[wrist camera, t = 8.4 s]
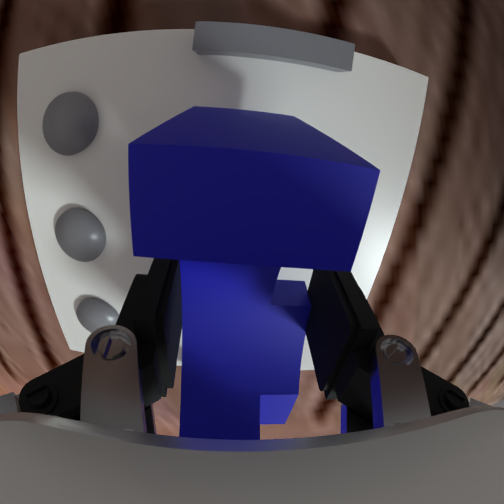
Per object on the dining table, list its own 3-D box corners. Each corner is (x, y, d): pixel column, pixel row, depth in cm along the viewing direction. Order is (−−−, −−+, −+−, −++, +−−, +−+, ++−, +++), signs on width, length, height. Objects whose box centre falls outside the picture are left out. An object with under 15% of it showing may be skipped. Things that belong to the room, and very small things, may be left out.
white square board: (405, 75, 11) (449, 79, 8) (328, 346, 20) (340, 387, 17) (43, 53, 9) (-3, 54, 6) (80, 328, 18) (62, 367, 15)
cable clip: (277, 373, 15) (292, 481, 10) (189, 370, 14) (180, 480, 9) (339, 124, 9) (462, 190, 4) (193, 105, 8) (127, 144, 3)
